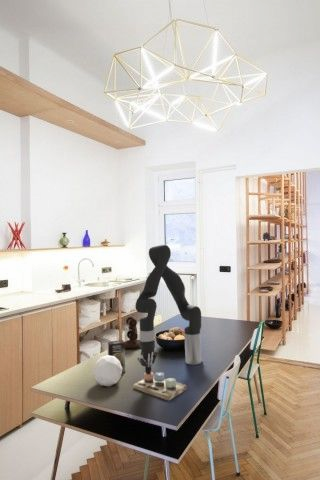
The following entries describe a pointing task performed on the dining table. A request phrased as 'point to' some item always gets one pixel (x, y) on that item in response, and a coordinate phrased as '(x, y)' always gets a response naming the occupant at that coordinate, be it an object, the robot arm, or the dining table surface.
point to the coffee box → (117, 351)
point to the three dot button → (159, 376)
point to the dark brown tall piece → (132, 334)
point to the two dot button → (148, 376)
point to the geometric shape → (107, 370)
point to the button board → (159, 388)
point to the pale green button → (170, 382)
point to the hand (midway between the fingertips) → (148, 373)
